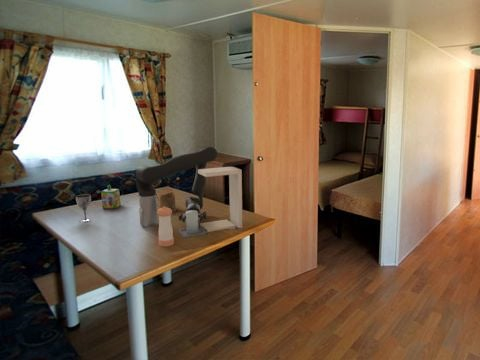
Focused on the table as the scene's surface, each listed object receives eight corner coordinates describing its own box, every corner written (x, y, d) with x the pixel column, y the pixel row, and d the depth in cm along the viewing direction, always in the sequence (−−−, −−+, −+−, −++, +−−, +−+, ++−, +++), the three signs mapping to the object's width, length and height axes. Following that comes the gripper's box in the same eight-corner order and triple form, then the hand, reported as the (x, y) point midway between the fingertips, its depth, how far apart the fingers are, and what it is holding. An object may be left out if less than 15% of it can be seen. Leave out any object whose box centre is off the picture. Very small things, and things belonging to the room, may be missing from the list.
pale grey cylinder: (188, 235, 179) (187, 214, 177) (185, 231, 185) (184, 211, 183) (200, 233, 182) (199, 212, 180) (196, 229, 187) (195, 209, 185)
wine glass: (87, 217, 214) (84, 193, 211) (96, 219, 210) (93, 195, 207) (75, 221, 207) (72, 196, 204) (84, 223, 203) (81, 198, 200)
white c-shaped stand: (207, 233, 184) (205, 173, 177) (199, 227, 194) (197, 169, 188) (242, 227, 192) (241, 169, 186) (233, 221, 203) (232, 166, 196)
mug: (146, 211, 226) (145, 192, 224) (171, 206, 237) (170, 188, 235) (155, 215, 218) (154, 196, 215) (180, 209, 229) (179, 191, 227)
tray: (184, 239, 176) (184, 236, 175) (178, 232, 186) (178, 229, 186) (207, 235, 181) (207, 232, 180) (200, 228, 191) (199, 226, 191)
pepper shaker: (155, 246, 168) (152, 207, 164) (166, 241, 174) (164, 203, 170) (166, 249, 164) (164, 209, 160) (177, 244, 170) (175, 205, 166)
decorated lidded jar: (115, 208, 233) (113, 186, 230) (102, 208, 233) (100, 186, 230) (121, 205, 242) (119, 183, 239) (108, 204, 242) (106, 183, 240)
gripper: (180, 205, 196) (177, 213, 180) (206, 204, 197) (206, 212, 182) (180, 218, 198) (178, 228, 182) (206, 217, 199) (206, 226, 183)
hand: (192, 220), depth 182 cm, fingers open, 8 cm apart
